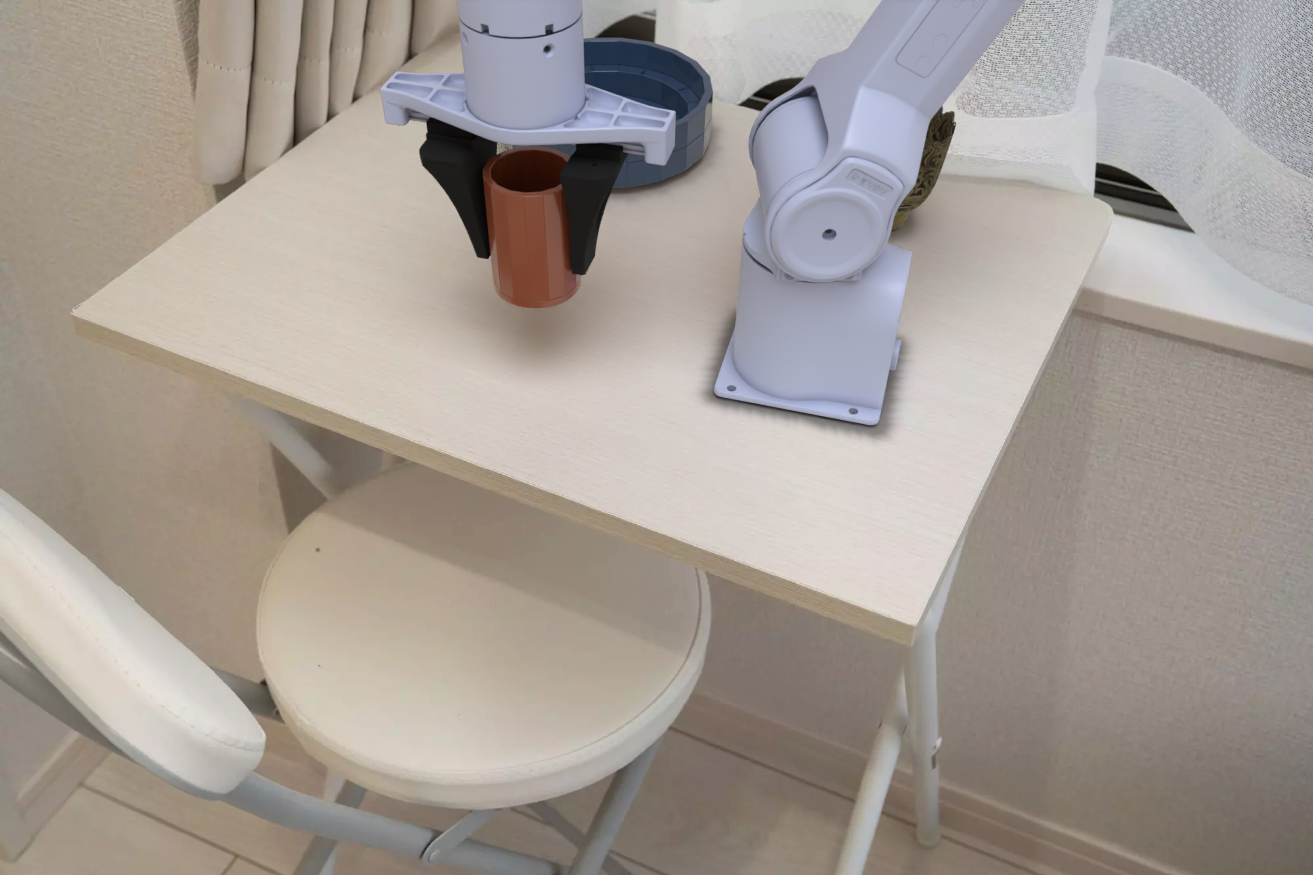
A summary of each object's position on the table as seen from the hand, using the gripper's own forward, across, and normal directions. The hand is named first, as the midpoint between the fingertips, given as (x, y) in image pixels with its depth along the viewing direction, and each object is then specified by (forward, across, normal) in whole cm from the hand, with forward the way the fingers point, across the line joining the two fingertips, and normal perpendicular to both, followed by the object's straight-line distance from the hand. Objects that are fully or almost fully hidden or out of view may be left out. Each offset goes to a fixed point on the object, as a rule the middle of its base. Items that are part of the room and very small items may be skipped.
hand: (536, 256), depth 64 cm
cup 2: (+8, -17, -21) cm, 28 cm away
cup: (+2, 0, 0) cm, 2 cm away
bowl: (+8, +4, -26) cm, 28 cm away
